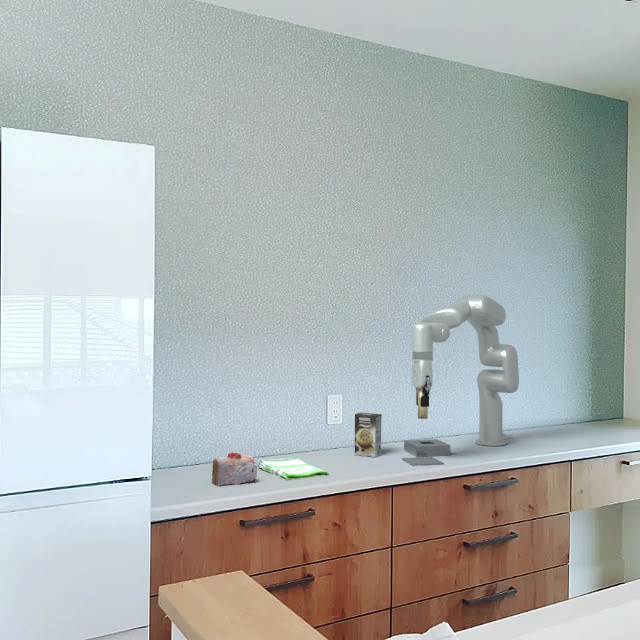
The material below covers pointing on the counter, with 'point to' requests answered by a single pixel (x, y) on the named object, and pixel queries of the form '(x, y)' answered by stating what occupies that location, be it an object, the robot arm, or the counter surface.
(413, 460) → the mat
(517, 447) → the counter surface
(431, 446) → the block
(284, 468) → the dish towel
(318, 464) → the counter surface
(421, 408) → the brass flanged peg
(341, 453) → the counter surface
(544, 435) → the counter surface
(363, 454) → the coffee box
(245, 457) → the food item
